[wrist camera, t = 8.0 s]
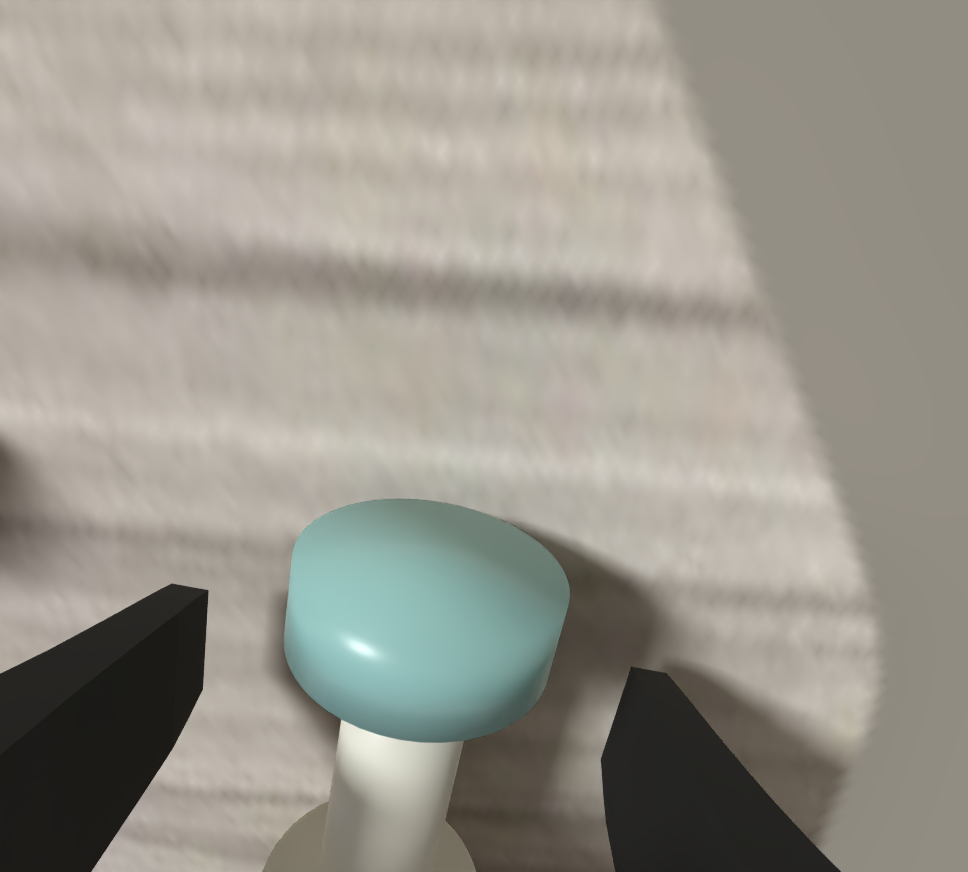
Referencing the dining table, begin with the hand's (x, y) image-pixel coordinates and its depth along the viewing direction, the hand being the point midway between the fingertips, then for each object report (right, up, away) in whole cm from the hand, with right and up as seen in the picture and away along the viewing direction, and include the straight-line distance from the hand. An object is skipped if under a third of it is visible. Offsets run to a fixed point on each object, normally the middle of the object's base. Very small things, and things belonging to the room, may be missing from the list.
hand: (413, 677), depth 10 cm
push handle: (-1, -4, +2) cm, 4 cm away
